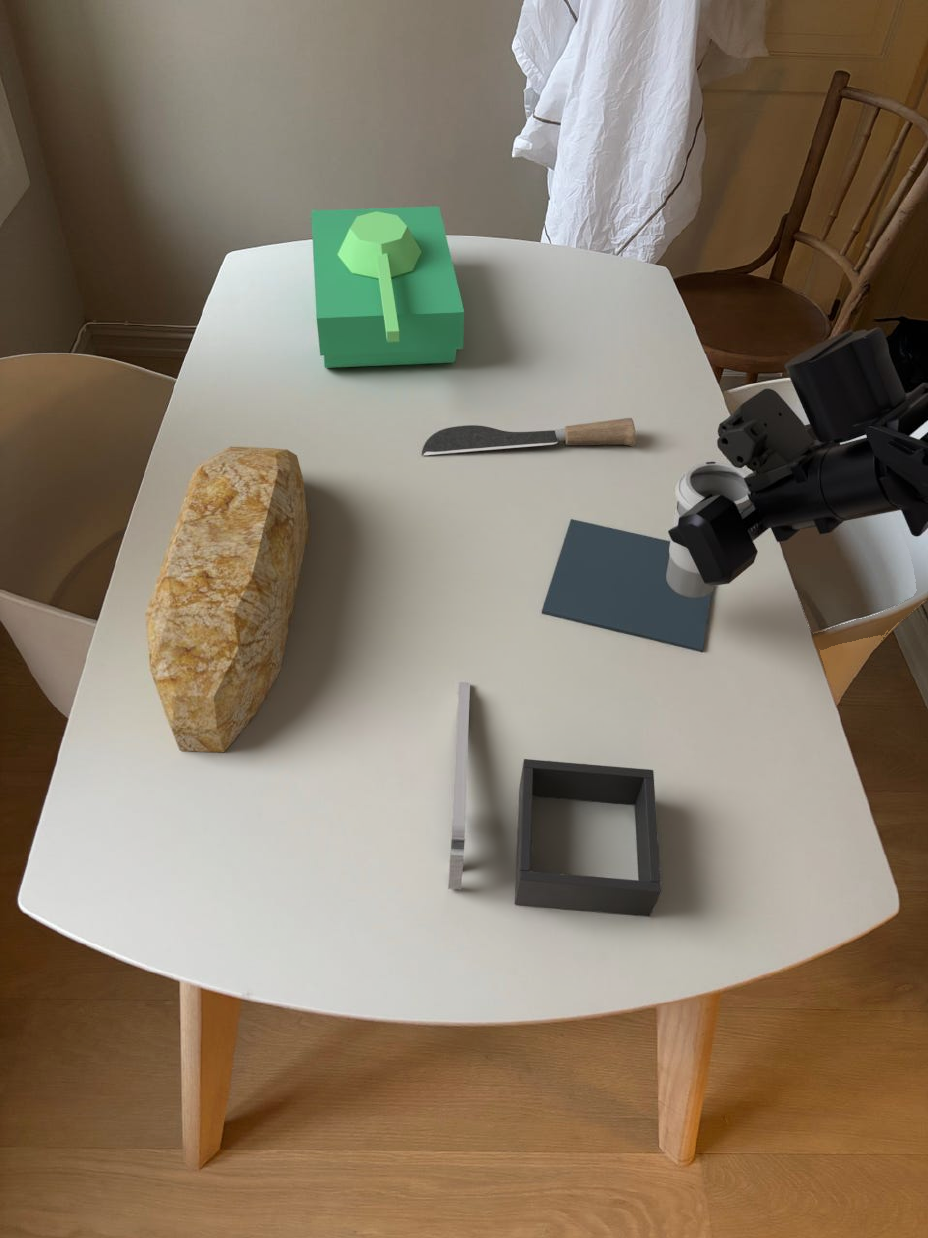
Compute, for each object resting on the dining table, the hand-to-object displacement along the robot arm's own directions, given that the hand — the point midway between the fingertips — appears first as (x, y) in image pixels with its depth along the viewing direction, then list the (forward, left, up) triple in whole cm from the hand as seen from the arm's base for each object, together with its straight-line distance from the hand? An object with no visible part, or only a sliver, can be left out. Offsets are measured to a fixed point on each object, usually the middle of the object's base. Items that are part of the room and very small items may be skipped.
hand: (695, 517), depth 84 cm
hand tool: (+20, -22, -13) cm, 32 cm away
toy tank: (+43, -38, -13) cm, 59 cm away
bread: (+41, +12, -13) cm, 45 cm away
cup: (-1, +1, -7) cm, 7 cm away
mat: (+4, -3, -13) cm, 14 cm away
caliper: (+14, +25, -13) cm, 32 cm away
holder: (+3, +28, -13) cm, 31 cm away
